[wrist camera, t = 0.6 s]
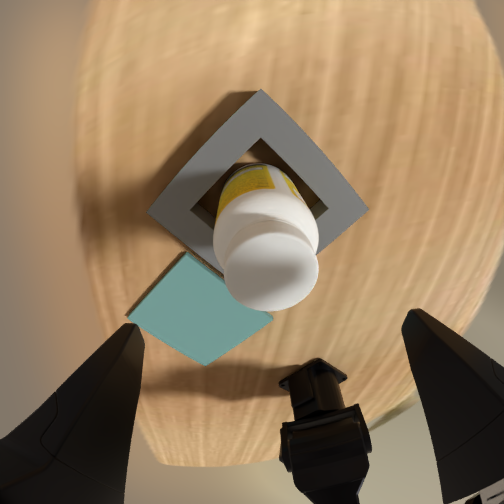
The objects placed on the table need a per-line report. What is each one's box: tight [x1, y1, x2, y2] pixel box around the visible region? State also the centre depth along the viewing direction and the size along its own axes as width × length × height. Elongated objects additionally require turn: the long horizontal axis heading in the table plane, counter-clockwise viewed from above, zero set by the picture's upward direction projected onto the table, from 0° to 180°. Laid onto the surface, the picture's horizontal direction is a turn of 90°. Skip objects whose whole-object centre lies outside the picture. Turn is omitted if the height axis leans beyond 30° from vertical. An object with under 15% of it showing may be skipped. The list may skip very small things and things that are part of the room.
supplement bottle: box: [213, 163, 319, 311], centre depth 16 cm, size 5×5×10 cm
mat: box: [127, 252, 273, 366], centre depth 25 cm, size 10×10×1 cm
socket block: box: [146, 89, 369, 274], centre depth 19 cm, size 11×11×2 cm
